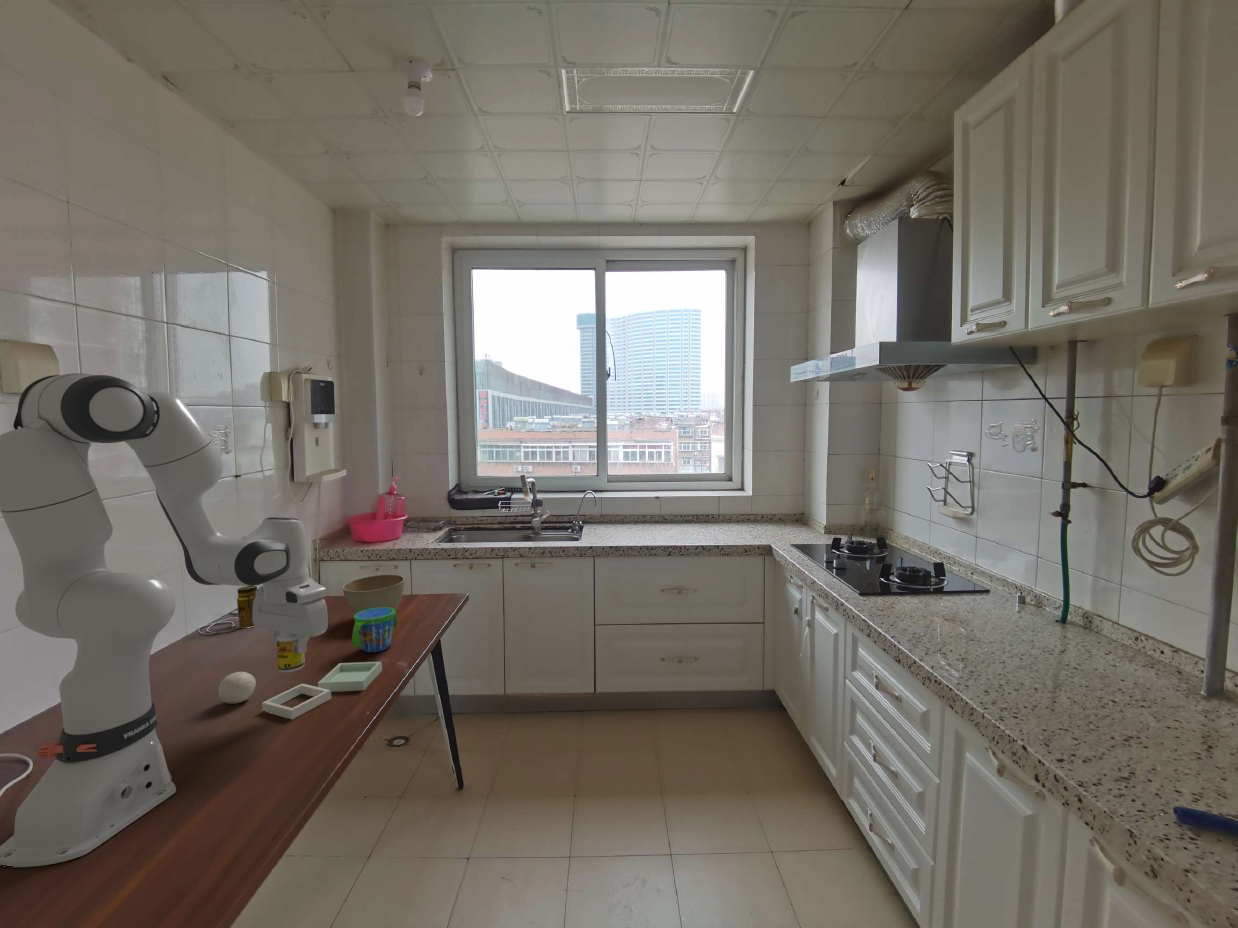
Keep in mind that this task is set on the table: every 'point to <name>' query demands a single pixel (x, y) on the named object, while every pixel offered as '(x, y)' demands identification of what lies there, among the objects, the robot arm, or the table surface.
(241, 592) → the condiment
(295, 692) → the holder
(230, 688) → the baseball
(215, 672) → the table surface
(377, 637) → the snack cup
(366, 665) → the tray
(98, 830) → the robot arm
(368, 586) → the flower pot
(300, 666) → the supplement bottle
